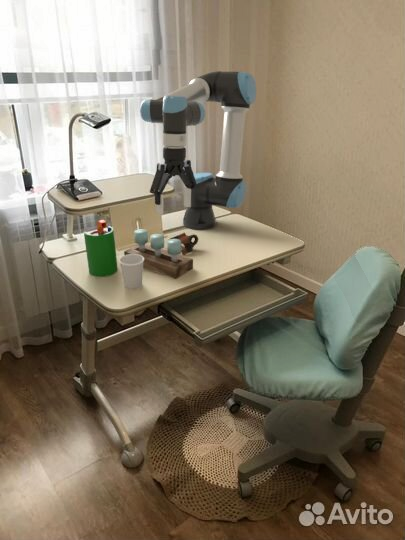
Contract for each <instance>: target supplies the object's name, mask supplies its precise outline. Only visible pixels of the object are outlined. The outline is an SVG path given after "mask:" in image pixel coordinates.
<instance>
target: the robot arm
mask: <svg viewBox="0 0 405 540" xmlns="http://www.w3.org/2000/svg"><path fill="white" fill-rule="evenodd" d="M256 98H257V84H256V81H255V77H254V76H253V75H252V73H250V72H246V71H220V70H218V71H217V70H215V71H211V72H207V73H205V74H202V75H200V76H197V77H194V78H193V79H192V80H191V81H190V82H189V84H186V85H185V86H182V87H180V88H178V89H176V90H174V91H172V92H170V93H169V92H168V94H166V95H164V96H161V97H159V98H156V99H153V98H150V99H144V100H143V101H141V104H140V107H139V112H140V117H141V119H142V120H143V121H144V122H147V123H151V124H162V146H163V148H162V158H163V160H164V163H161V162H158V163H157V164H156V171H155V174H154V177H153V180H152V184H151V186H150V189H149V194H153V195H154V205H155V213H156V214H157V215H164V194H163V191H165V188H166V187H167V185H168V183H169V181H170V180H171V179H172V178H173V177H175V176H178V177H179V178H180V180H181V181H182V183H183V184H184V186H185V187H184V188H183V207H186V209H185V212H184V215H183V219H182V225H183V226H185V227H186V228H188V229H191V230H207V229H211V228H213V227H215V226H216V225H217V219H216V215H215V213H214V208H213V206H218V207H223V208H224V207H225V208H228V209H229V208H230V209H231V208H232V209H237V208H239V207H241V205H242V204H243V202H244V200H245V198H246V194H247V189H248V187H247V183H246V182H245V181H243V180H244V179H243V178H244V177H243V175H242V174H241V173H240V172H241V162H242V153H243V152H242V151H243V141H244V140H243V138H244V131H245V130H244V129H245V121H246V120H245V119H246V113H247V112H248V111H249V110H250V106H251V105H253V104H254V103H255V102H256ZM205 102H209V103H211V102H214V103H221V104H220V107H221V110H223V124H222V125H223V126H222V136H221V148H220V149H221V151H220V161H219V171H218V172H217V173H216V174H215V177H214V174H213V173H211V172H197V173H194V171H193V169H192V163H191V159H186V157H187V155H186V154H187V148H186V145H187V127H188V126H189V127H192V126H197V125H199V124H202V122H203V121H204V120H205V117H206V110H205V107H204V106H203V103H205Z"/></svg>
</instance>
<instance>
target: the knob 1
mask: <svg viewBox="0 0 405 540" xmlns="http://www.w3.org/2000/svg"><path fill="white" fill-rule="evenodd" d="M133 236H134V239H133V240H134V244H137V245H138V246H139V251H140V252H145V244H148V242H149V234H148V230H147V229H145V228H139V229H136V230H134V231H133Z"/></svg>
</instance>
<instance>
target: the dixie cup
mask: <svg viewBox="0 0 405 540" xmlns="http://www.w3.org/2000/svg"><path fill="white" fill-rule="evenodd" d="M118 262H119V264H120V271H121V274H122V278H123V284H124V287H125V289H127V290H131V291H133V290H138V289H141V288H142V285H143V274H144V273H143V272H144V267H143V262H144V257H143V256H141V255H138V254H128V255H124V254H123V255H122V256H121V257H119V259H118Z"/></svg>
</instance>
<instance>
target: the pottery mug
mask: <svg viewBox="0 0 405 540" xmlns="http://www.w3.org/2000/svg"><path fill="white" fill-rule="evenodd" d="M170 239H179V240H181V245H183V246H184V248H181V255H182V256H185V255H187V254H189V253H190V254H191V253H193V252H194V250H193V249H194V247H195V246H196V245H197V244H198V242H199V237H198V235H197V234H191V235H188V234H186V232H182V233H180V234H178V235H175V236H173V237H170V238H169V239H168V240H170ZM193 239H194V241H192V240H193Z"/></svg>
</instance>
